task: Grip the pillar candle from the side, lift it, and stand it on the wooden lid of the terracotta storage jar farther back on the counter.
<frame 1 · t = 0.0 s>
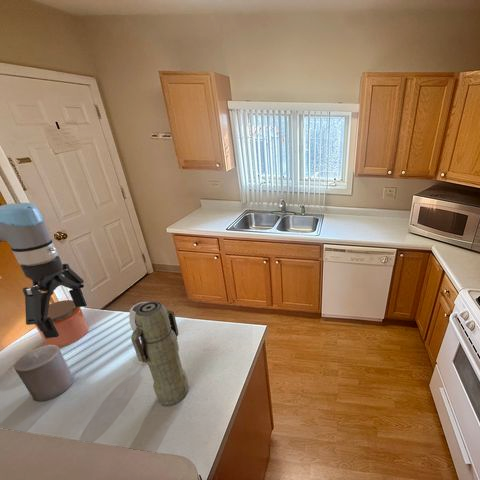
hand: (68, 320, 78), 24 cm above the counter, tool pointing down, fingers open, 13 cm apart
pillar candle: (54, 387, 83), on the counter
jar: (68, 335, 103), on the counter
thermos: (173, 393, 83), on the counter
wineglass: (154, 351, 98), on the counter
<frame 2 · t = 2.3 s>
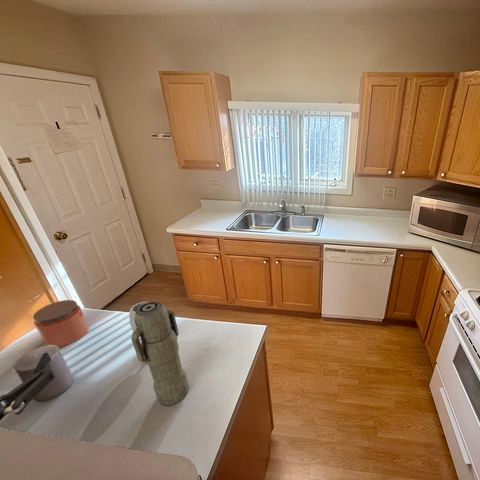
hand: (12, 365, 67), 20 cm above the counter, tool horizontal, fingers open, 13 cm apart
nothing on the counter moved.
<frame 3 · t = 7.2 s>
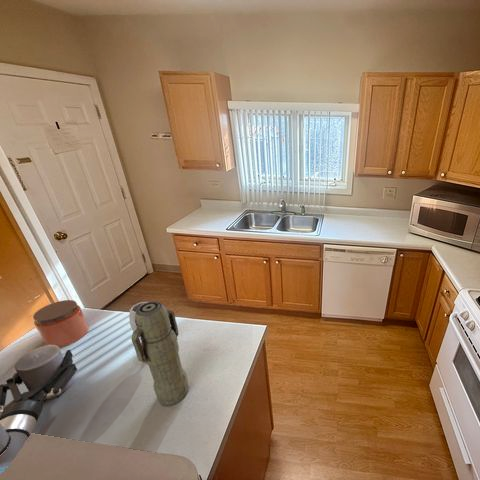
hand: (49, 358, 83), 9 cm above the counter, tool horizontal, fingers closed on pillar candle, 9 cm apart
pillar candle: (54, 387, 83), on the counter, touching gripper
everything else where it was.
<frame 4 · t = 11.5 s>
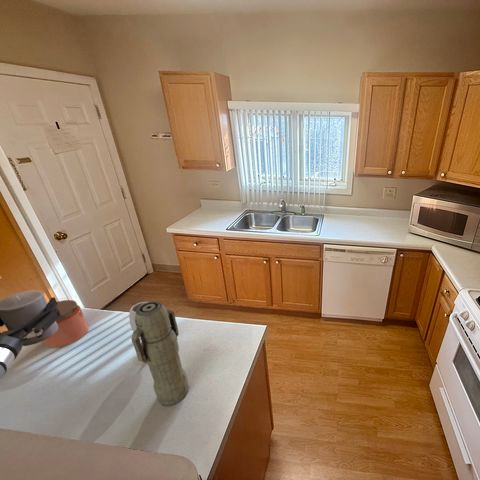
hand: (33, 305, 81), 26 cm above the counter, tool horizontal, fingers closed on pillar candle, 9 cm apart
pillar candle: (38, 335, 81), point 17 cm above the counter, touching gripper
everything else where it was.
when the fingers open (21 cm above the counter, at t = 15.9 s): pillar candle stays where it is, resting on jar.
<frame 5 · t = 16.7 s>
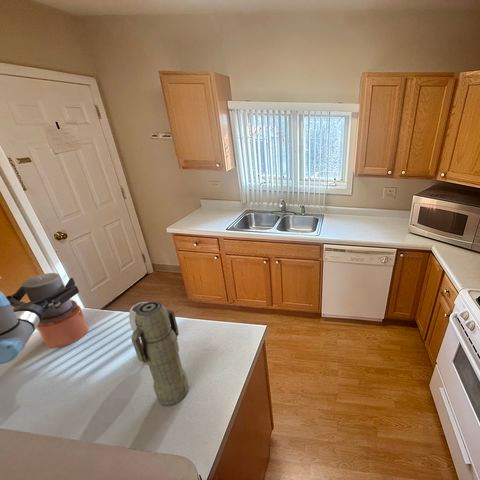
hand: (49, 284, 96), 22 cm above the counter, tool horizontal, fingers open, 13 cm apart
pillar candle: (56, 310, 97), point 13 cm above the counter, touching jar
everything else where it was.
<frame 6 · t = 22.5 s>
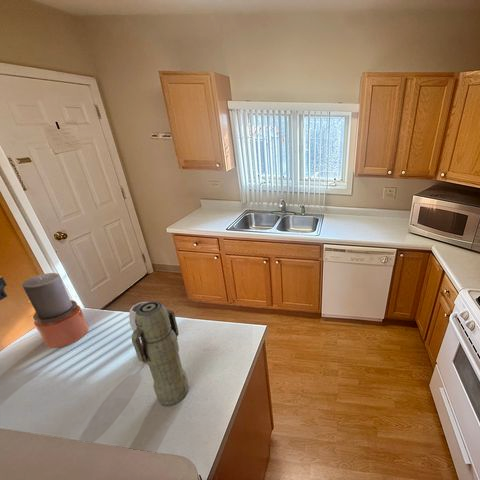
nothing on the counter moved.
at the end: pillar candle 0.1 cm off-centre on the jar, point 12.8 cm above the jar's base; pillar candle tilted 0°; the gripper is holding nothing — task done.
